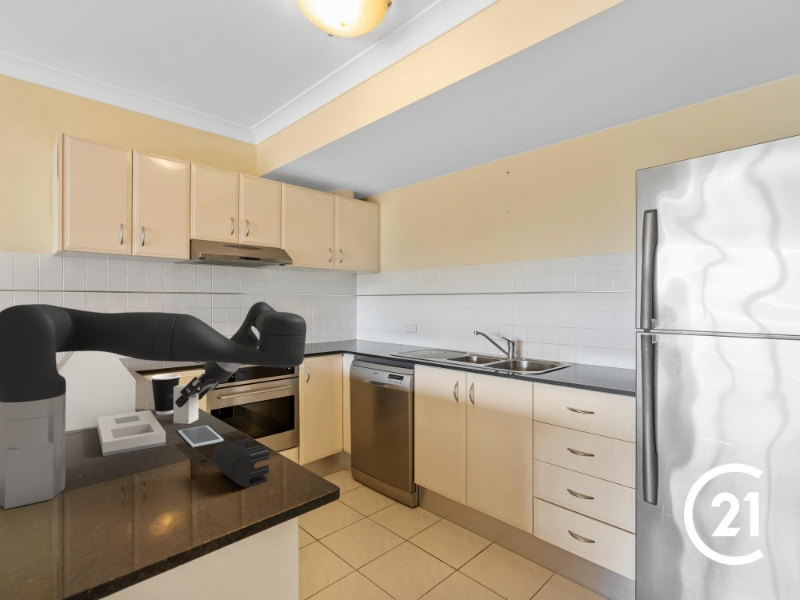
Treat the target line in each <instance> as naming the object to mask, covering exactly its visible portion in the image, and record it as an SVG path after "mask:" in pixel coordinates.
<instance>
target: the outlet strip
mask: <svg viewBox="0 0 800 600" xmlns="http://www.w3.org/2000/svg"><path fill="white" fill-rule="evenodd" d="M96 430H97V434H98V439H99V445H100V449H101V453H102V457H108V456H113V455H118V454H124V453H130V452H136V451H139V450H140V451H141V450H145V449H151V448H157V447H162V446H163V447H164V446H166V444H167V443H166V442H167V441H166V438H167V437H166V435H167V433H166V431H165V429H164V428H163V427H162V425H161V424H160V421H158V419H157V418H156V417H155V415H154V413H153V412H152V411H151V410H143V411H135V412H133V413H125V414H118V415H110V416H103V417H97V427H96Z"/></svg>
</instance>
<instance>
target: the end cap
mask: <svg viewBox="0 0 800 600" xmlns="http://www.w3.org/2000/svg"><path fill="white" fill-rule="evenodd" d="M250 445H255V441H254V440H253V439H250V438H245V439H241V440H237V441H232V440H230V439H229V438H226V439H224V441H221V442H218V443H217V445H216V446H215V448H213V449H214V450H213V451H212V455H211V463H212V465H213V467H215V468H216V469H217V470H218V471H220V472H221V473H222V474H224V475H225V476H227V478H229V479H231V481H233V482H234V483H236V484H237V485H239V486H240V487H243V488H246V489H247V488H248V489H249V488H251V487H254V486H257V485H260V484H264V483H266V482H268V477H267V476H266V475H268V474H269V473H270V471H269V469H270V467H269V466H270V465H269V464H266V465H263V466H260V467H256V468H255V466H256V463H259V462H262V461H265V460H269V459H270V452H269V449H268V448H267V447H265V446H263V445H258V446H253V447H249V446H250Z"/></svg>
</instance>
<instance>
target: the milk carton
mask: <svg viewBox="0 0 800 600" xmlns="http://www.w3.org/2000/svg"><path fill="white" fill-rule="evenodd" d="M56 366H57V371H58V373H59V374H60V375H61V376H63V377H64V378H65V380H66V432H69V431H77V430H83V429H84V430H85V429H91V428H97V417H103V416H110V415H118V414H125V413H133V412H136V386H137V385H136V384H137V383H136V378H135V377H134V376H133V375H132V374H131V372H130V371H129V370H128V368H127V367H126V366H125V365H124V363H123V362H122V361H121V360H120V358H119V357H118V356H117V354H114V353H109V352H102V351H70V352H65V355H64V356H63V358H62V359H60V361H59V362H58V363H57V364H56Z"/></svg>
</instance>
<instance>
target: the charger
mask: <svg viewBox="0 0 800 600" xmlns="http://www.w3.org/2000/svg"><path fill="white" fill-rule="evenodd" d="M187 384H188V383H181V384H179V385H178V386H175V387H174V410H173V413H172V414H173V415H172V416H173V420H172V421H173V422H172V423H173V424H183V425H190V424H191V423H193V422H196V421H197V420H199V407H200V406H199V403H200V402H199V401H200V400H199V394H195V395H194V396H193V397H192V398H190V399H189V400H188V401H187V402H186V403H185V404H184V405H183V406H182V407H180V408H179V407H178V406H177V405H176V404H175V401H176V400H177V399H178V398H179V397H180V396H181V395H182V394H181V393H180V391H181V390H182V389H183V388H184V387H185V386H186V385H187ZM198 390H199V388H198ZM189 393H190V390H189Z"/></svg>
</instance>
